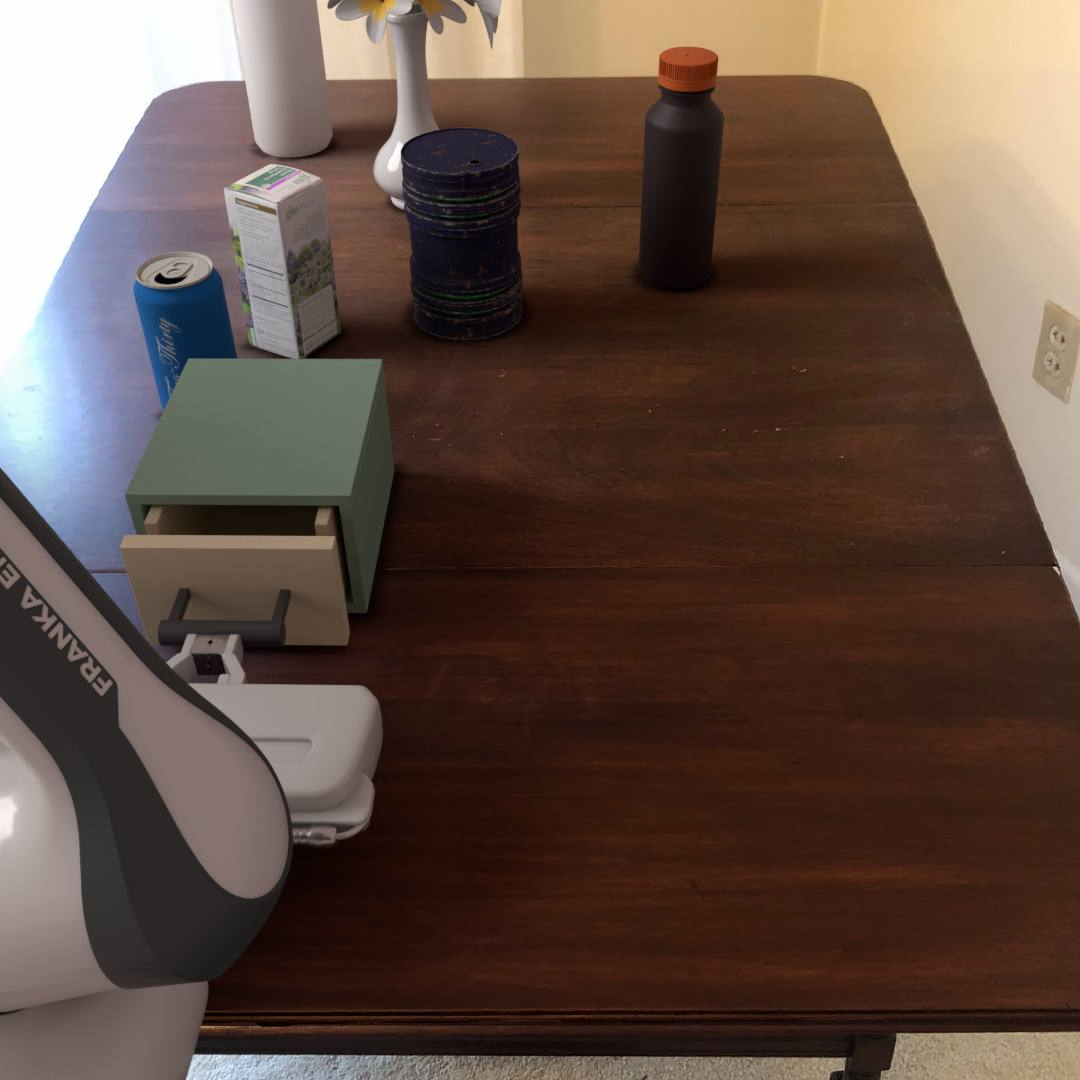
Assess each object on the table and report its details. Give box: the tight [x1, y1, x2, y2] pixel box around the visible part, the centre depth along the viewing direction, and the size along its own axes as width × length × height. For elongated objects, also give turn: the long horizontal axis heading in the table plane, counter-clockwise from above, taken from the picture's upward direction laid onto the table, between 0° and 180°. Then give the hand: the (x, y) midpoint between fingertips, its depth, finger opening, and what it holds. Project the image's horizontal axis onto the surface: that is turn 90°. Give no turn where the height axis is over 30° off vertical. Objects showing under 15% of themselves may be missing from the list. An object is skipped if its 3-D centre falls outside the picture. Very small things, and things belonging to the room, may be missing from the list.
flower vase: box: [326, 0, 502, 211], centre depth 120 cm, size 13×18×25 cm
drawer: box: [119, 505, 351, 648], centre depth 77 cm, size 19×12×8 cm, turn 179°
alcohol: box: [231, 0, 334, 158], centre depth 130 cm, size 9×9×30 cm
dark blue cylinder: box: [401, 127, 524, 341], centre depth 104 cm, size 10×10×15 cm
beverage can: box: [132, 251, 238, 411], centre depth 94 cm, size 6×6×12 cm
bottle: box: [637, 46, 725, 291], centre depth 108 cm, size 7×7×20 cm
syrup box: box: [223, 163, 342, 359], centre depth 101 cm, size 6×6×14 cm
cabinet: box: [124, 358, 395, 614], centre depth 82 cm, size 16×14×10 cm
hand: (216, 641), depth 69 cm, fingers closed, pressing on drawer
